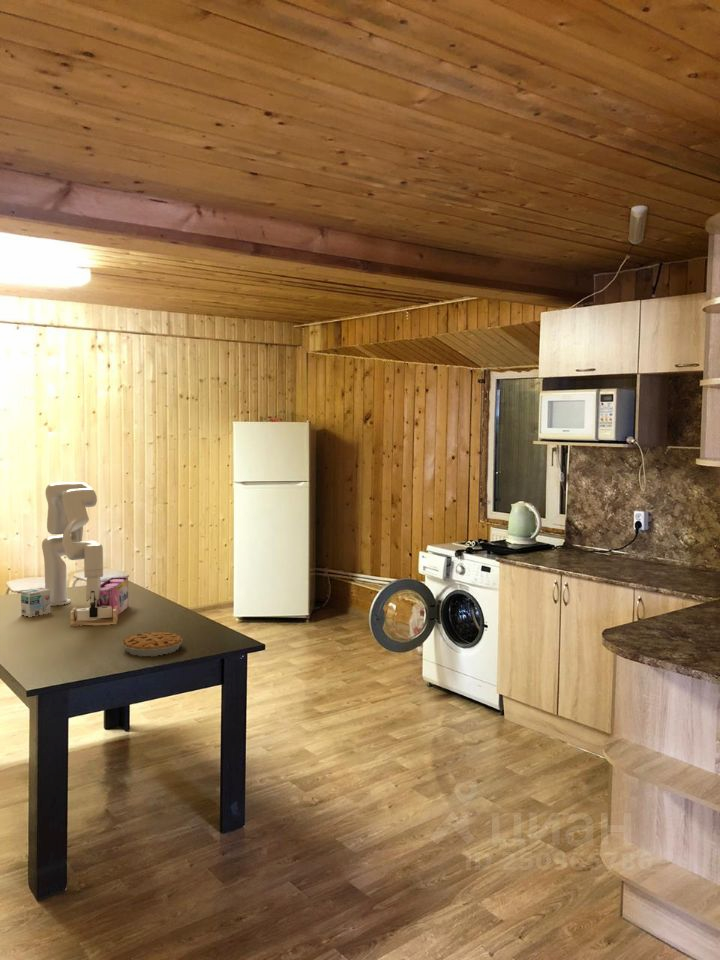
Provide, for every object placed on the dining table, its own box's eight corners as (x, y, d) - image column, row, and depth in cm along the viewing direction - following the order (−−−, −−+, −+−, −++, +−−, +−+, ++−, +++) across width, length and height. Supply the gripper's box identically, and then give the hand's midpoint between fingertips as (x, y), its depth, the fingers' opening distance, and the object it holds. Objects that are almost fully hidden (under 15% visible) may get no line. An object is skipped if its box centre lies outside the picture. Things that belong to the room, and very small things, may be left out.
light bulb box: (29, 618, 343) (29, 593, 342) (20, 615, 346) (20, 591, 346) (51, 613, 352) (51, 589, 351) (42, 611, 355) (41, 587, 355)
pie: (193, 650, 297) (193, 637, 297) (140, 662, 282) (140, 648, 282) (163, 638, 313) (163, 626, 312) (111, 649, 298) (111, 636, 297)
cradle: (73, 621, 337) (73, 607, 337) (117, 619, 341) (117, 605, 341) (70, 626, 329) (70, 612, 329) (116, 624, 333) (115, 610, 332)
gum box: (113, 619, 342) (112, 588, 341) (94, 619, 342) (94, 588, 341) (129, 606, 366) (128, 577, 365) (111, 606, 366) (111, 577, 365)
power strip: (76, 618, 334) (76, 608, 334) (110, 614, 340) (110, 605, 340) (77, 620, 330) (77, 611, 330) (112, 617, 336) (112, 608, 335)
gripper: (87, 569, 341) (87, 611, 342) (81, 577, 324) (82, 620, 326) (105, 569, 343) (105, 610, 344) (100, 576, 326) (101, 619, 327)
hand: (94, 614), depth 335 cm, fingers closed on power strip, 5 cm apart
